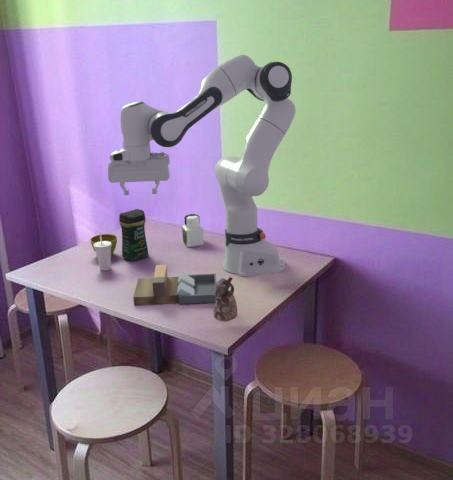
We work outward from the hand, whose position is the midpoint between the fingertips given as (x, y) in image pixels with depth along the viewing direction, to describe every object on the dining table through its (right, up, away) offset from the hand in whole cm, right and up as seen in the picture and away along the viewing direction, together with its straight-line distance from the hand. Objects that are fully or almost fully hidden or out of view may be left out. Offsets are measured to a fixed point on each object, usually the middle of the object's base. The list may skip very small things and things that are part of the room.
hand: (140, 194), depth 176 cm
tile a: (+15, -30, -3) cm, 34 cm away
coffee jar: (-6, -22, +25) cm, 34 cm away
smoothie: (-15, -26, +15) cm, 34 cm away
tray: (+20, -33, -6) cm, 39 cm away
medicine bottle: (+15, -17, +37) cm, 44 cm away
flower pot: (-18, -22, +27) cm, 39 cm away
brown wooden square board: (+7, -33, -7) cm, 35 cm away
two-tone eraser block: (+8, -30, -8) cm, 32 cm away
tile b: (+16, -32, -11) cm, 38 cm away
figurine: (+29, -38, -21) cm, 52 cm away
